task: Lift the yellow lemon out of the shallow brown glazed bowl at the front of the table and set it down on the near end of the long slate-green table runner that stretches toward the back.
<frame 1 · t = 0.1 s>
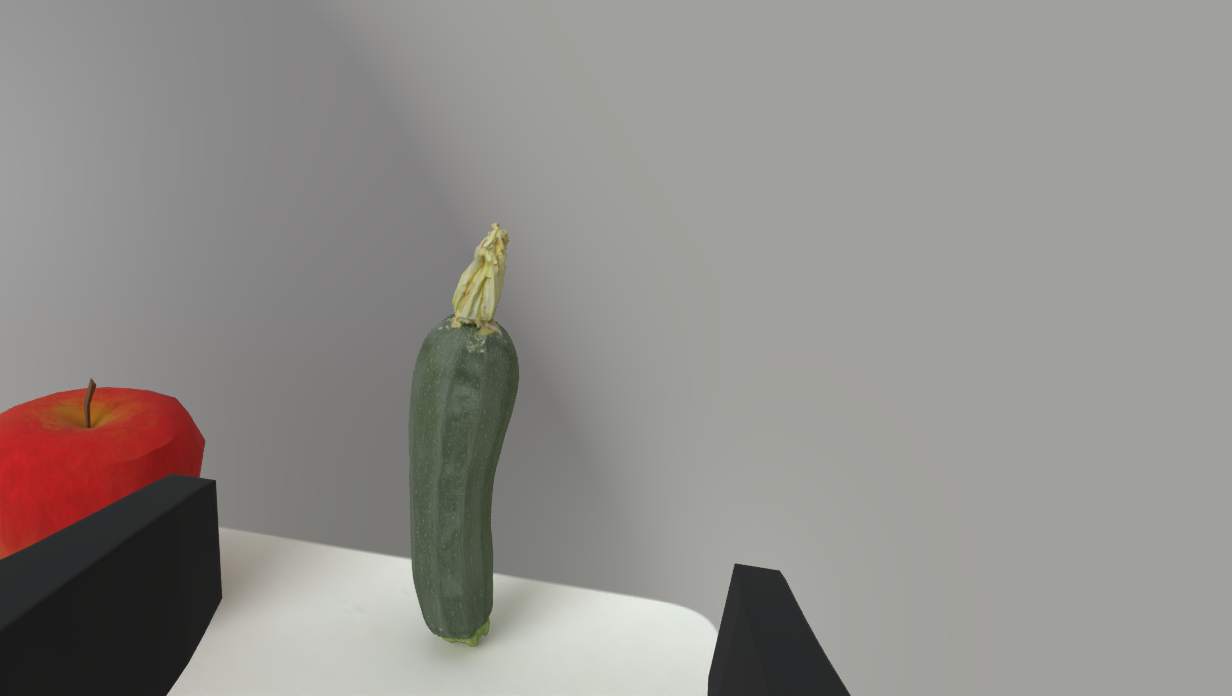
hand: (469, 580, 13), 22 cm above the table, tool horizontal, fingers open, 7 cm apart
apple: (103, 621, 42), on the table
vegetable: (441, 646, 44), on the table
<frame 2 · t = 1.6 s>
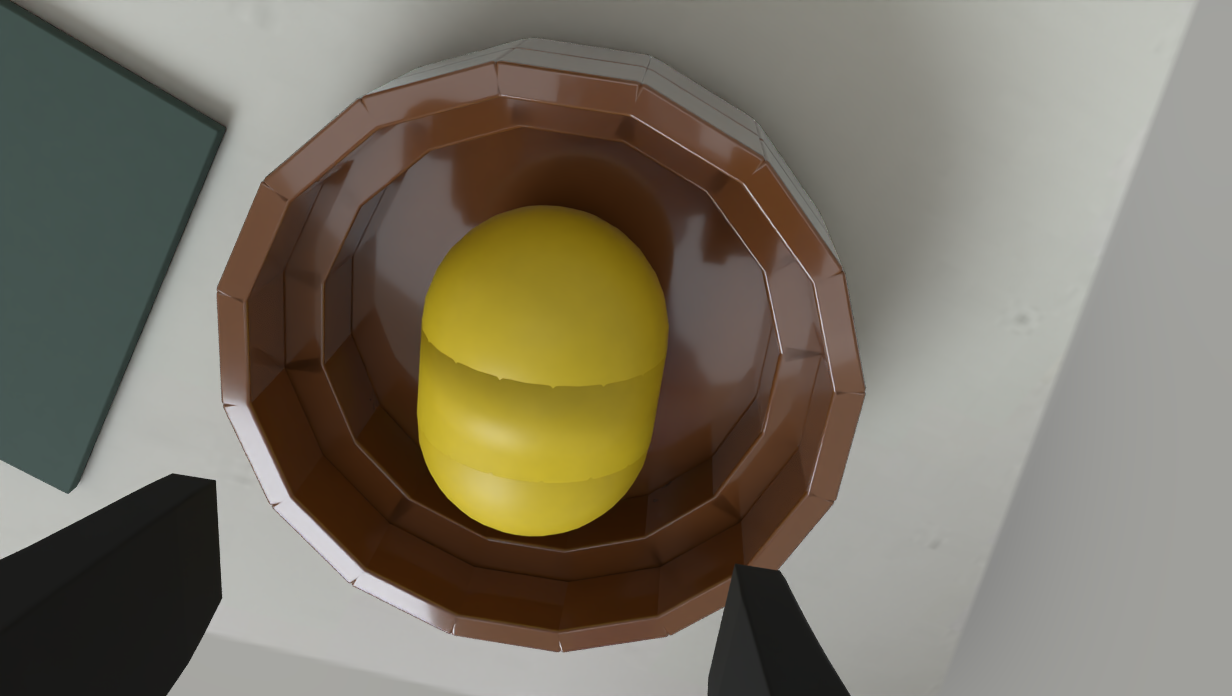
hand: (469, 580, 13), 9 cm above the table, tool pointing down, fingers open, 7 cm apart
bowl: (560, 318, 21), on the table
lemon: (557, 327, 21), resting on bowl
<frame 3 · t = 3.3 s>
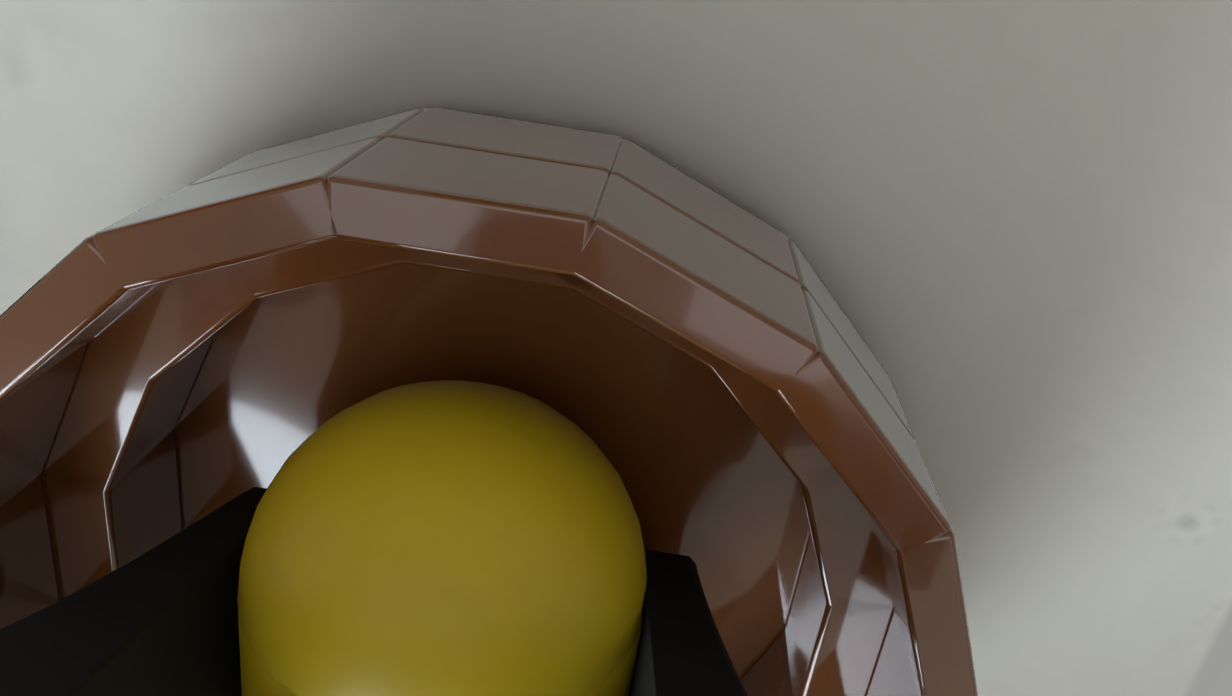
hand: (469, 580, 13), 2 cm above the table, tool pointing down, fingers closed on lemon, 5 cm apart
bowl: (493, 509, 14), on the table
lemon: (484, 528, 14), point 1 cm above the table, touching bowl, gripper
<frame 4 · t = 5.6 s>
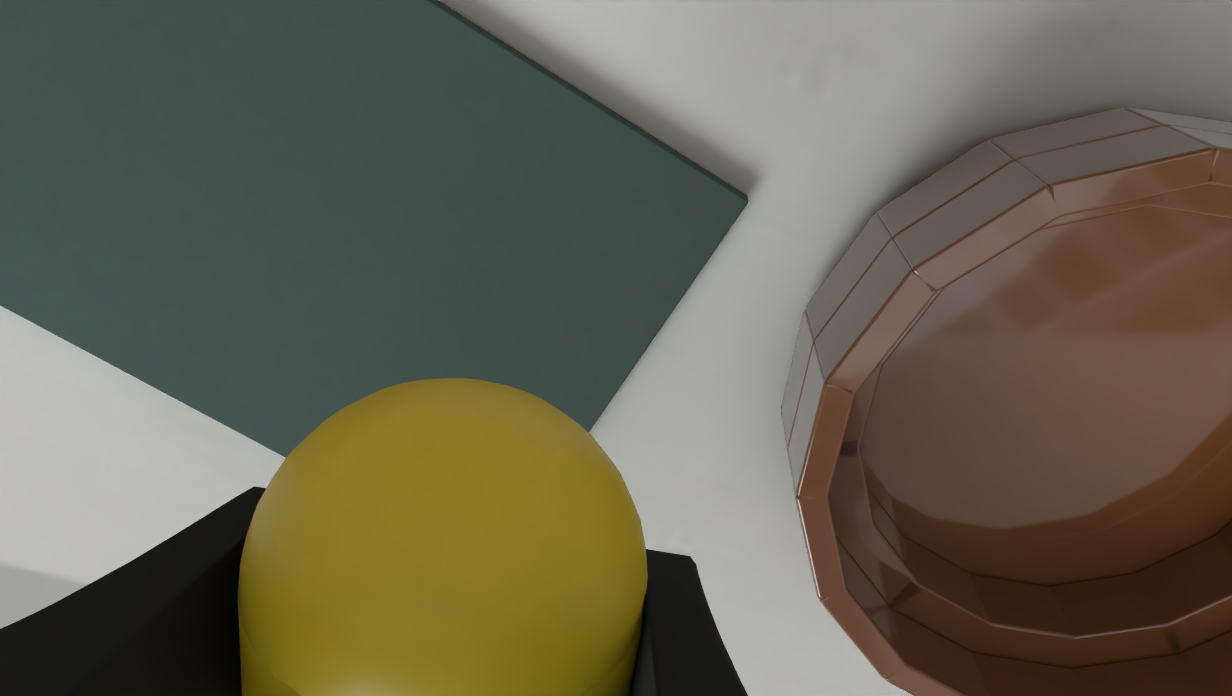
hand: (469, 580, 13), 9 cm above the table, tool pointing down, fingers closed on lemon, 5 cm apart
bowl: (1068, 392, 20), on the table
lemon: (485, 526, 14), point 7 cm above the table, touching gripper
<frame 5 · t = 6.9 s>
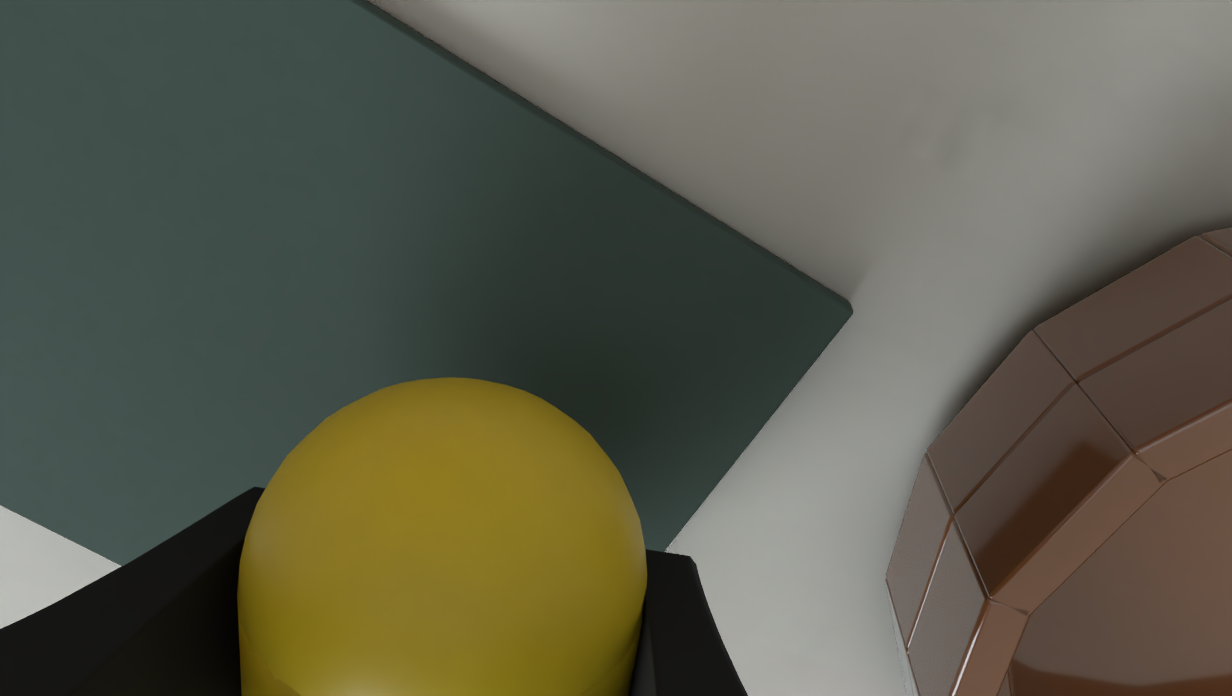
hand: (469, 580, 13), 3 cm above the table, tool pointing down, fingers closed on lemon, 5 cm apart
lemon: (484, 526, 14), point 2 cm above the table, touching gripper
when the fingers open (2 cm above the table, at t = 7.9 s): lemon stays where it is, resting on runner.
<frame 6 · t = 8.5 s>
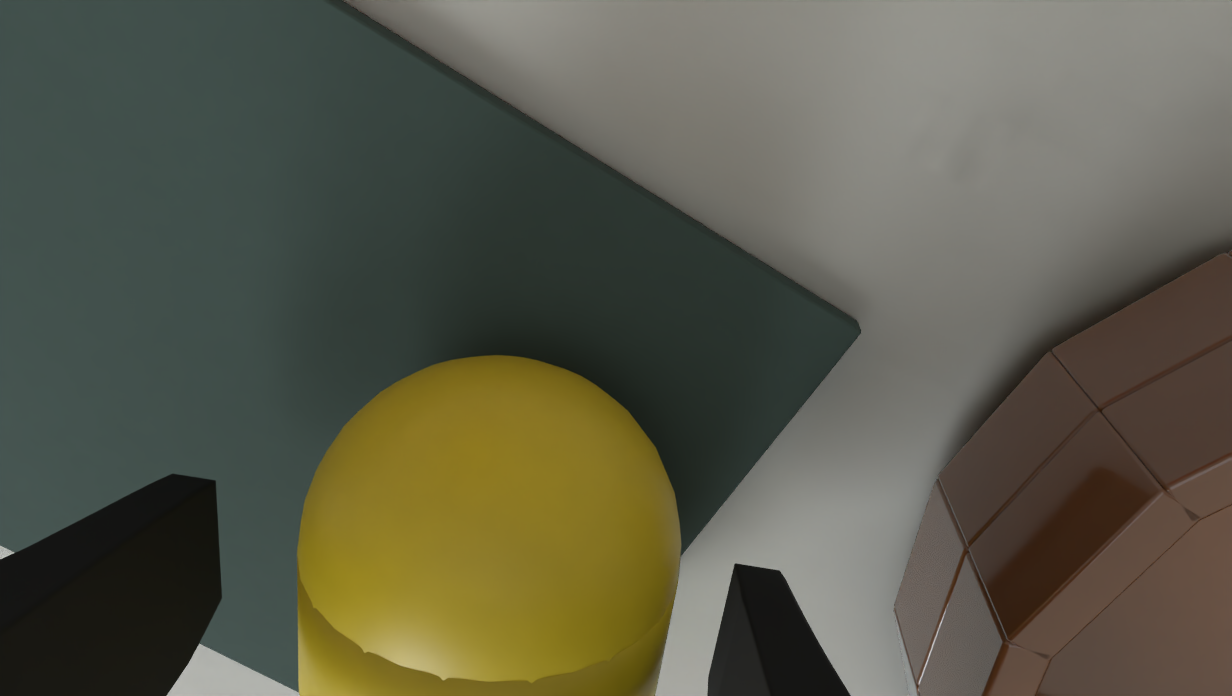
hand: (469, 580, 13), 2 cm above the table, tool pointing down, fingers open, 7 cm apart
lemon: (493, 498, 15), resting on runner, tilted 10°
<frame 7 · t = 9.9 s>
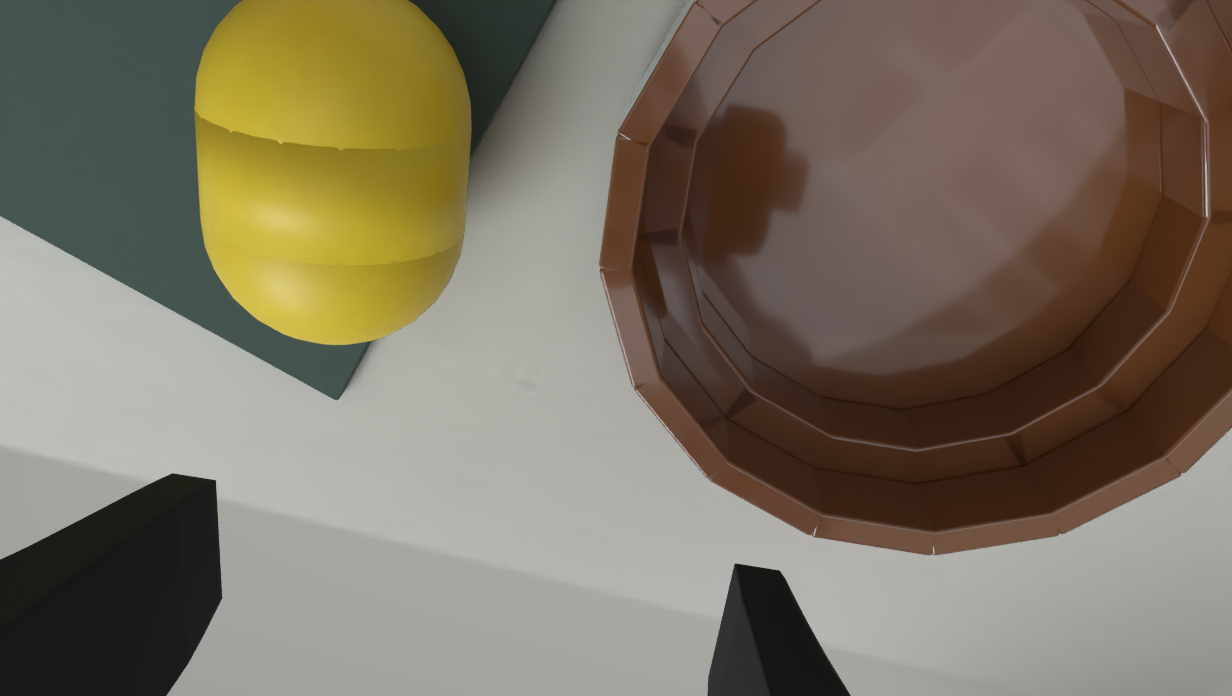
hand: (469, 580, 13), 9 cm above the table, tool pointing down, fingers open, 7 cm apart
bowl: (911, 196, 20), on the table
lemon: (312, 135, 19), point 1 cm above the table, tilted 32°, touching runner
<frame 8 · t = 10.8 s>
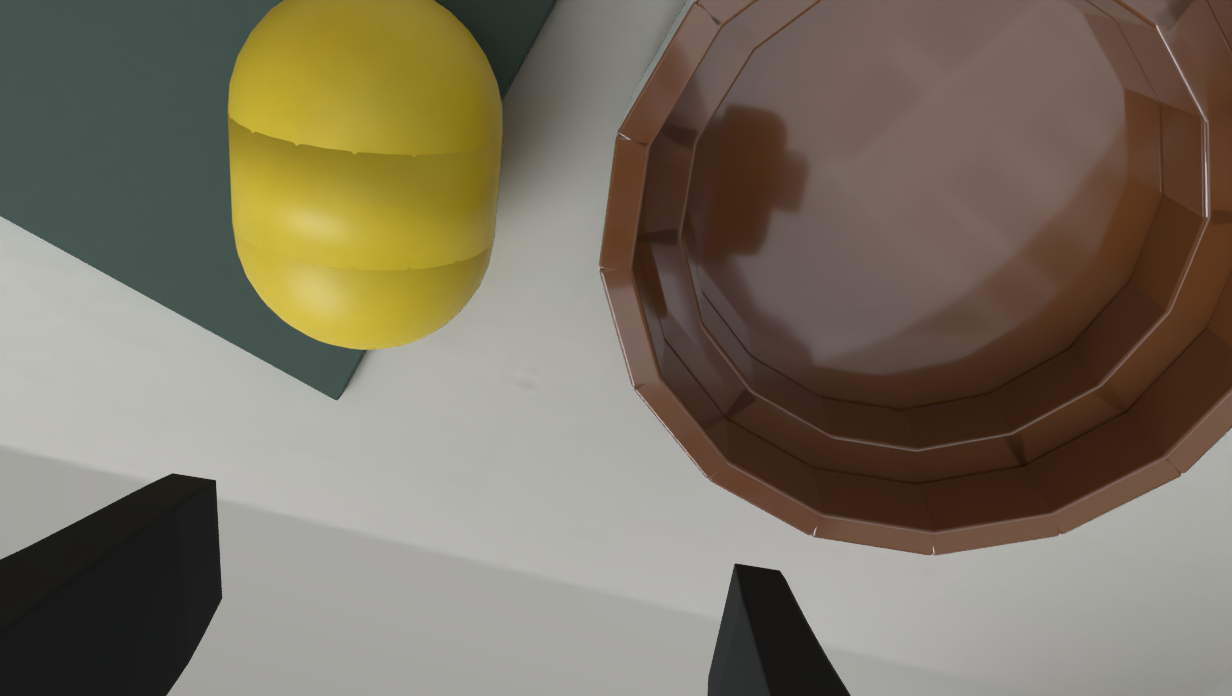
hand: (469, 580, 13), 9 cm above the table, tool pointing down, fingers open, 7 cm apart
bowl: (911, 196, 20), on the table
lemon: (312, 140, 19), point 1 cm above the table, tilted 46°, touching runner
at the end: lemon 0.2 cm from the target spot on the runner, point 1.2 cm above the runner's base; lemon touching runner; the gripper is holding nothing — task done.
